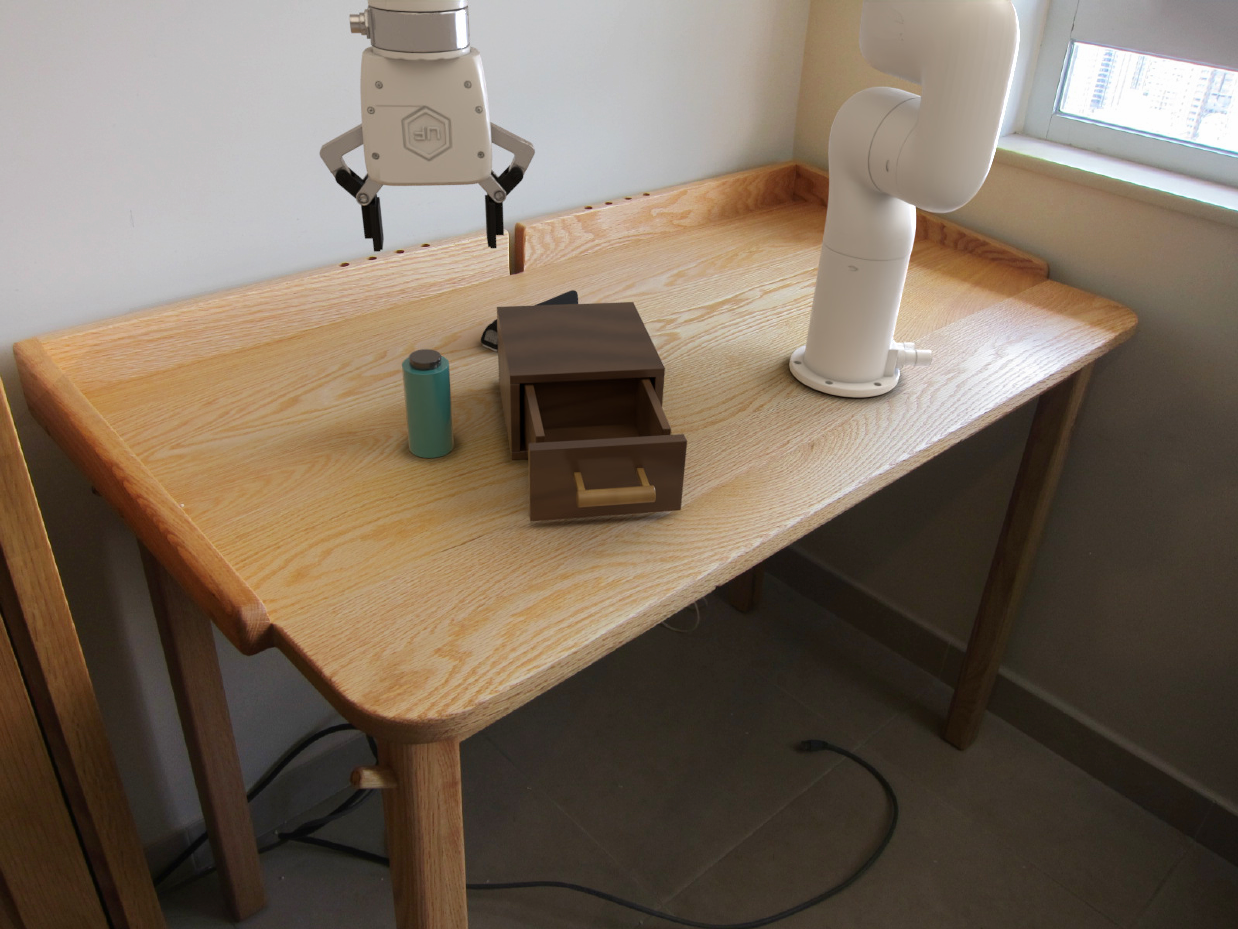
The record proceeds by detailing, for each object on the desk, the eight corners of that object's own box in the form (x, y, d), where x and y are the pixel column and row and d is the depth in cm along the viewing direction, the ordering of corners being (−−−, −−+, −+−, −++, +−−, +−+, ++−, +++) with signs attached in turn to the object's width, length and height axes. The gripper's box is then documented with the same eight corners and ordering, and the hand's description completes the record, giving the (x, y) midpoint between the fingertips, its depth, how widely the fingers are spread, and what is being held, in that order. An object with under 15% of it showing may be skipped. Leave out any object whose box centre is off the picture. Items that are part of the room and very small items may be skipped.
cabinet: (659, 450, 99) (665, 368, 94) (511, 460, 96) (509, 375, 91) (629, 377, 112) (633, 301, 107) (498, 384, 109) (496, 306, 104)
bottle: (456, 435, 99) (451, 346, 94) (450, 459, 96) (445, 367, 90) (413, 434, 99) (405, 344, 94) (405, 457, 96) (397, 365, 90)
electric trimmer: (586, 316, 126) (586, 292, 124) (501, 353, 115) (500, 329, 114) (563, 308, 128) (564, 284, 126) (478, 344, 117) (477, 319, 116)
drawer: (692, 539, 85) (699, 467, 81) (535, 551, 82) (535, 478, 78) (647, 428, 100) (652, 363, 96) (514, 436, 98) (513, 370, 94)
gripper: (298, 39, 71) (329, 263, 80) (536, 40, 74) (539, 257, 83) (309, 22, 77) (336, 232, 87) (528, 23, 80) (531, 227, 89)
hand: (435, 244), depth 85 cm, fingers open, 9 cm apart
